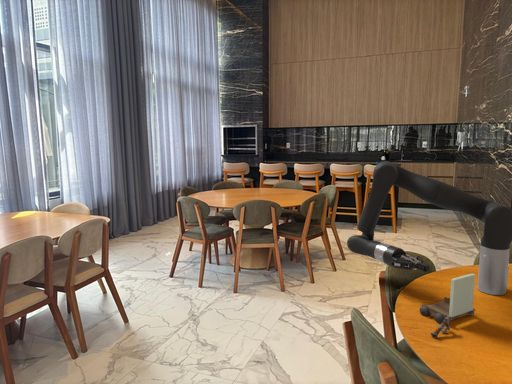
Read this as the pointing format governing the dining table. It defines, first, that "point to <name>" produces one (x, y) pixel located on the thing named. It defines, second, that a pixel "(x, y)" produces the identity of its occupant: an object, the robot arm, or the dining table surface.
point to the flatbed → (441, 311)
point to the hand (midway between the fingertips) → (427, 269)
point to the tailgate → (462, 295)
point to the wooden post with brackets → (445, 322)
